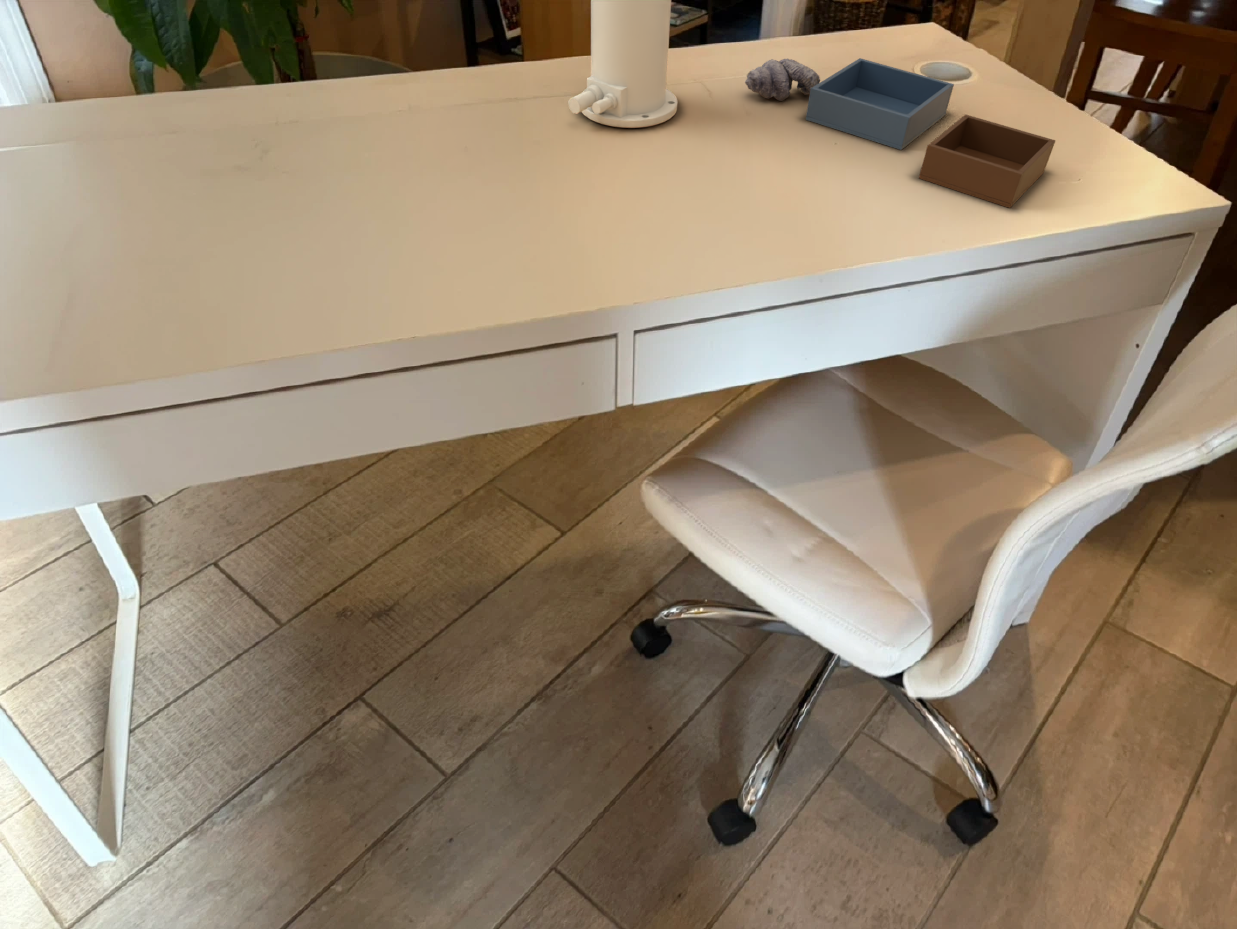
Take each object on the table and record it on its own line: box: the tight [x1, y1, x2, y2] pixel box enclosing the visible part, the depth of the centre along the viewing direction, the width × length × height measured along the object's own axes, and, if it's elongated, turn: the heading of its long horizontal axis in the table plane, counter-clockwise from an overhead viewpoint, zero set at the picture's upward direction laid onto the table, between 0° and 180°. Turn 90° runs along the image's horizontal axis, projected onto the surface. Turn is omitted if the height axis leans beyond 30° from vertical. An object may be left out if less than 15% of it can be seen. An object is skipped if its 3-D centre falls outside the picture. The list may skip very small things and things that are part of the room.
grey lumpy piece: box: [744, 58, 821, 102], centre depth 118 cm, size 5×5×10 cm
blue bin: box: [805, 57, 955, 151], centre depth 114 cm, size 13×13×4 cm
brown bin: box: [918, 114, 1056, 209], centre depth 103 cm, size 11×11×4 cm
